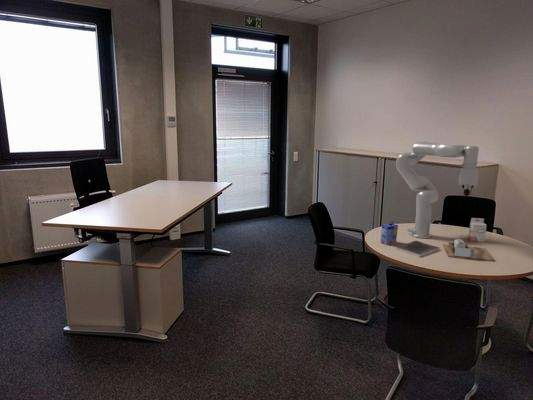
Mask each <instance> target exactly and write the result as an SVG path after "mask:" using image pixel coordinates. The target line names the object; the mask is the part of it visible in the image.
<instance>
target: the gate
mask: <svg viewBox="0 0 533 400" xmlns="http://www.w3.org/2000/svg"><path fill="white" fill-rule="evenodd" d="M454 256H460V257H471V258H473V256H474V249H468V248H457V247H455V255H454Z"/></svg>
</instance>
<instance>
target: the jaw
mask: <svg viewBox="0 0 533 400" xmlns="http://www.w3.org/2000/svg"><path fill="white" fill-rule="evenodd" d="M453 242H454V249H455V247H457V248H465V242H464V241H463V240H462V239H461V238H456V239H454V241H453Z"/></svg>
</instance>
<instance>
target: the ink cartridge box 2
mask: <svg viewBox="0 0 533 400" xmlns="http://www.w3.org/2000/svg"><path fill="white" fill-rule="evenodd" d="M484 221H485V218H482V217H481V218H480V217H478V218H477V217H471V219H470V222H469V223H470V224H469V230H468V237H467V239H468V240H469V241H470V242H478V243H479V242H480V243H481V242H482V243H483V242H485V240H486V239H485V238H486V232H487V224H486V223H485V222H484Z"/></svg>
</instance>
